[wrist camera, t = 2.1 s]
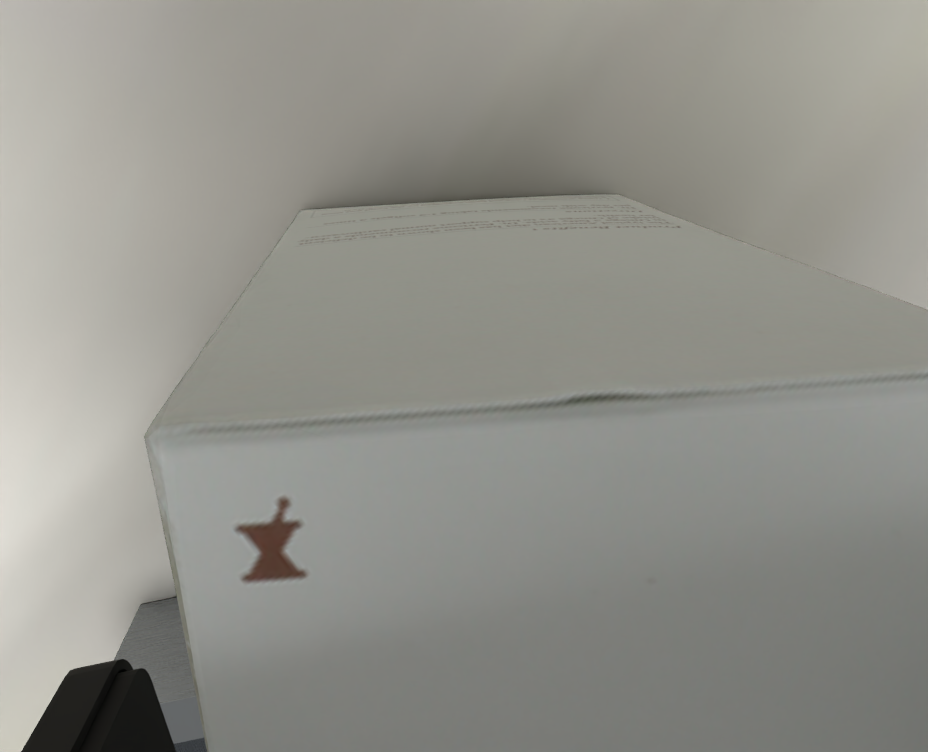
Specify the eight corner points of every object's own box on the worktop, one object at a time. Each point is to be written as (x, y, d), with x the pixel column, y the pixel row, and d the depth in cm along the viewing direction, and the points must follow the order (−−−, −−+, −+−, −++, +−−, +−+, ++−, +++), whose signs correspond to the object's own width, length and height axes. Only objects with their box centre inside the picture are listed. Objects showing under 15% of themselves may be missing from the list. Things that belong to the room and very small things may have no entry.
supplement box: (322, 514, 20) (233, 1122, 8) (294, 202, 18) (110, 406, 6) (623, 494, 21) (956, 1033, 9) (634, 189, 18) (1108, 348, 6)
